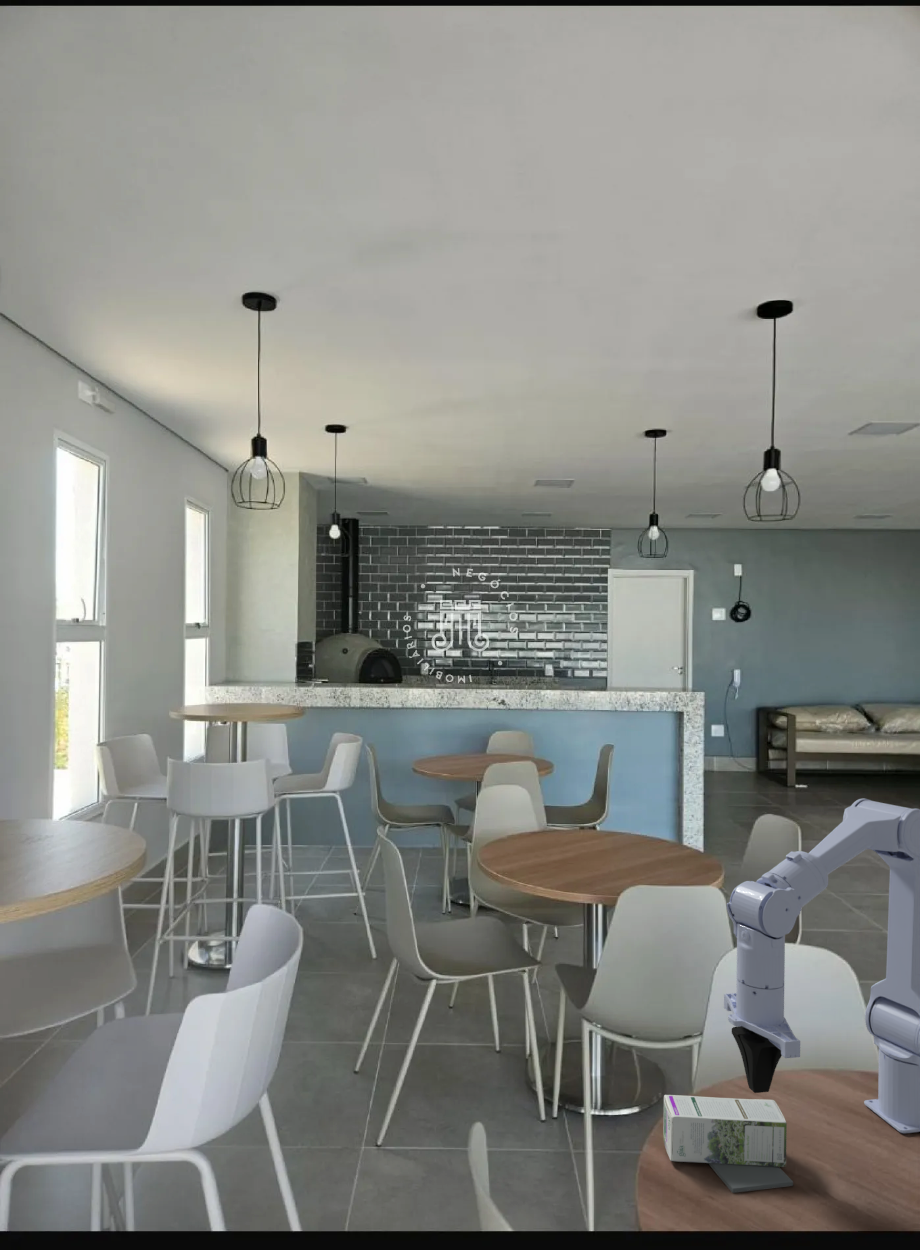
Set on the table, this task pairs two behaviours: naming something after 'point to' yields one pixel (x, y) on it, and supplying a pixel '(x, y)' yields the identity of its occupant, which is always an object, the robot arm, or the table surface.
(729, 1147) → the syrup box
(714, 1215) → the table surface
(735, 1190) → the pad
